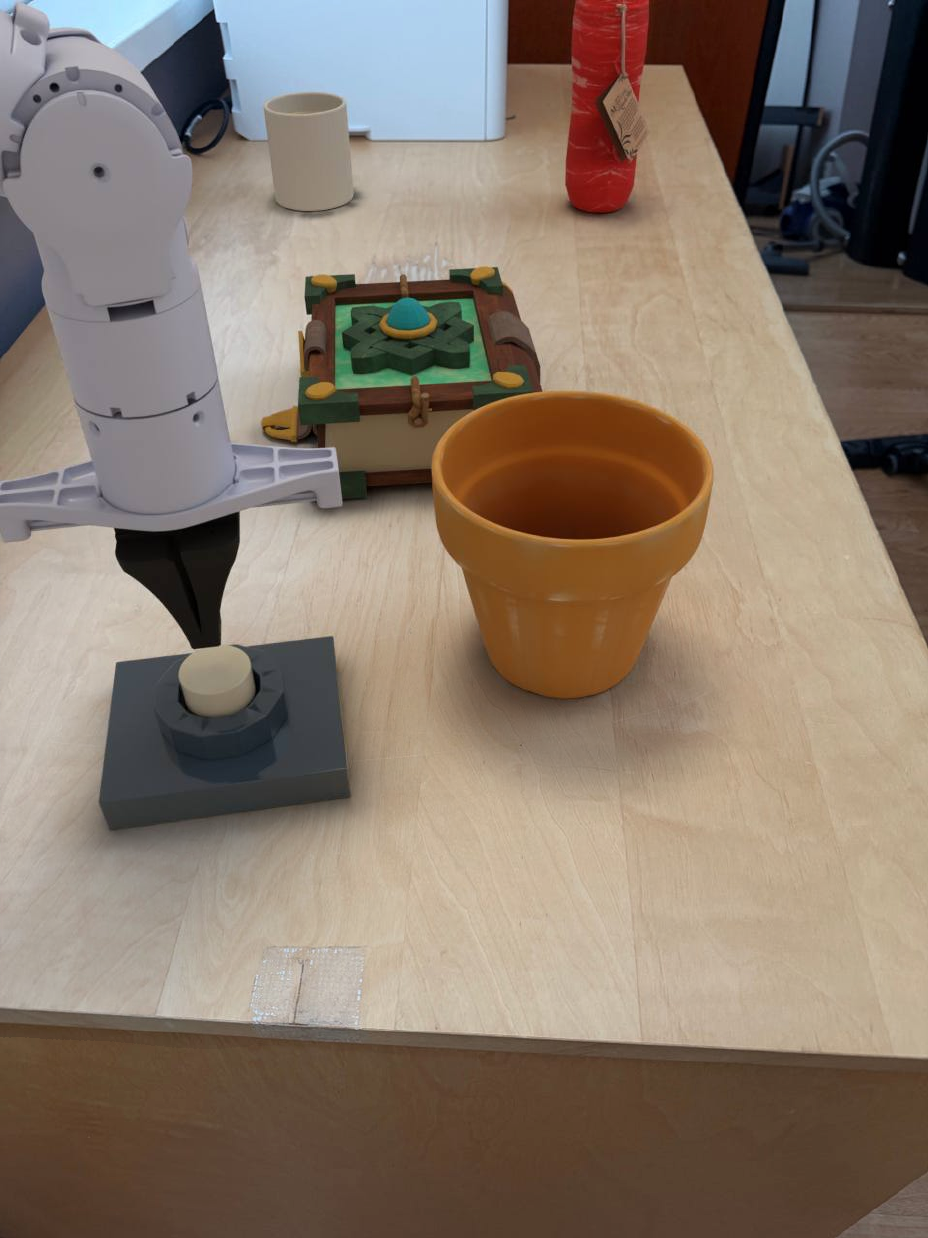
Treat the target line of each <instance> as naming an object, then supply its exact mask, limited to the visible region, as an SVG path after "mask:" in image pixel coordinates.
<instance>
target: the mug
mask: <svg viewBox="0 0 928 1238" xmlns="http://www.w3.org/2000/svg"><path fill="white" fill-rule="evenodd" d="M263 114H264V122H265V130H266V137H267V144H268V152H269V160H270V167H271V173H272V174H271V175H272V182H273V191H274V198H275V201H276V203H277V204H278V205H279V206H281V207H282V208H285V209H289V210H294V211H301V212H318V211H319V212H320V211H327V210H333V209H335V208H339V207H341V206H344V205H346V204H348V203H349V202H351V201H352V200H353V198H354V195H355V192H354V182H353V179H354V178H353V171H352V170H353V168H352V157H351V145H350V132H349V121H348V108H347V101H346V99H345V98H344V97H343V96H341V95H338V94H335V93H331V92H323V91H298V92H289V93H284V94H280V95H277V96H273V97H272V98H270V99H267V100H266V101H265V102H264V103H263Z"/></svg>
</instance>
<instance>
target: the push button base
mask: <svg viewBox="0 0 928 1238" xmlns="http://www.w3.org/2000/svg"><path fill="white" fill-rule="evenodd" d="M228 645H229V646H233V647H237V648H239V649H241V650H242V651H244V652H245V653H246V654H247V655H248V657H249V659H250V662H251V666H252V671H253V676H254V681H255V686H256V690H255V695H254V697H253V699H252V700H251V702H250V703H249V704H248V705H247V706H246V707H245V708H244V709H242V710H240V711H238V712H236V713H235V714H233V715H230V716H222V717H214V718H206V717H202V716H199V715H197V714H195V713H193V712H192V711H191V710H190V709H189V708H188V707H187V705H186V703H185V699H184V695H183V692H182V688H181V684H180V681H179V669H180V667H181V665H182V663H183V662H184V660H185V659H186V658H187V657H188V656H190V655H191V654H192V653H193V652H190V653H180V654H179V653H178V654H171V655H164V656H156V657H147V658H146V657H145V658H140V659H139V658H138V659H130V660H122V661H116V662H115V668H114V676H113V684H112V690H111V691H112V692H111V700H110V701H111V702H110V707H109V714H108V723H107V725H108V726H107V730H106V731H107V733H106V741H105V746H104V747H105V748H104V756H103V762H102V764H103V765H102V772H101V780H100V788H99V789H100V790H99V796H98V804H99V805H98V806H99V807H100V810H101V812H102V815H103V817H104V820H105V823H106V826H107V828H108V830H109V831H114V830H121V829H127V828H128V829H129V828H136V827H141V826H142V827H143V826H151V825H157V824H165V823H172V822H178V821H186V820H192V819H200V818H207V817H214V816H221V815H228V814H235V813H242V812H243V813H244V812H249V811H250V812H251V811H259V810H264V809H272V808H280V807H287V806H292V805H294V806H295V805H301V804H307V803H315V802H316V803H317V802H321V801H329V800H336V799H343V798H350V797H351V796H352V790H351V782H350V781H351V780H350V772H349V771H350V770H349V763H348V762H349V761H348V753H347V744H346V733H345V726H344V725H345V724H344V717H343V707H342V699H341V697H342V696H341V688H340V679H339V671H338V662H337V653H336V647H335V638H334V636H333V635H328V636H321V637H311V638H304V639H295V640H286V641H279V642H273V643H272V642H271V643H263V644H255V645H247V646H246V645H241V644H235V643H234V644H228Z"/></svg>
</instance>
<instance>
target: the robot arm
mask: <svg viewBox="0 0 928 1238" xmlns="http://www.w3.org/2000/svg"><path fill="white" fill-rule="evenodd" d="M14 3H15V4H14V6H13V10H12V14H10V13H8V12H5V11H3V10H2V9H0V197H3V198H7V201H8V202H9V204H10V206H11V208H12V209H13V211H14V213H15V214H16V215H17V217H18V218H19V220H21V222H22V224H24V226H25V227H27V229H28V230H29V231H30V232H31V233H33V236H34V239H35V243H36V246H37V250H38V254H39V257H40V261H41V264H42V267H43V274H42V278H41V291H42V296H43V298H44V302H45V306H46V309H47V312H48V317H49V319H50V323H51V327H52V330H53V333H54V336H55V340H56V343H57V346H58V350H59V353H60V357H61V360H62V364H63V367H64V371H65V374H66V378H67V381H68V384H69V387H70V390H71V394H72V398H73V401H74V405H75V408H76V412H77V415H78V418H79V423H80V425H81V429H82V433H83V437H84V439H85V442H86V445H87V450H88V453H89V456H90V459H88V460H85V461H82V462H77V463H74V464H71V465H67V466H64V467H61V468H56V469H53V470H49V471H46V472H42V473H39V474H34V475H30V476H25V477H19V478H13V479H4V480H0V536H1V539H2V542H3V543H5V544H7V543H18V542H23V541H27V540H30V538H31V537H32V532H39V531H47V530H57V529H58V530H59V529H68V528H75V527H76V528H77V527H85V526H93V527H102V528H103V527H104V528H111V529H113V530H114V539H115V541H116V543H115V548H114V549H115V550H114V556H115V559H116V561H117V563H118V565H119V567H120V569H121V570H122V571H123V573H125V574H127V575H128V576H130V577H131V578H133V579H134V580H136V581H137V582H138V583H139V584H140V585H142V586H143V587H144V588H145V589H147V590H148V591H149V592H150V593H151V594H152V595H153V596H154V597H155V598H156V599H157V600H158V601H159V602H160V603H161V604H162V605H163V607H164V608H165V609H166V610H167V611H168V612H169V614H170V615H171V617H172V618H173V619H174V621H175V623H176V624H177V625H178V627H179V629H181V631H182V633H183V634H184V636H185V638H186V640H187V641H188V643H189V646H190V647H191V649H192V650H200V649H202V648H210V647H218V646H220V645H222V615H221V614H222V613H221V609H222V602H223V597H224V593H225V589H226V585H227V582H228V579H229V576H230V573H231V571H232V569H233V567H234V564H235V562H236V560H237V556H238V552H239V548H240V542H241V515H240V514H241V512H242V511H245V510H248V509H252V508H262V507H271V506H272V507H273V506H283V505H290V504H291V505H292V504H299V503H301V504H302V503H309V502H310V503H311V502H316V504H317V506H318V508H321V509H331V508H332V509H333V508H339V507H340V508H341V507H343V499H342V494H341V486H340V477H339V468H338V461H337V454H336V448H335V447H330V448H317V447H316V448H315V447H314V448H311V447H309V448H302V447H287V446H275V445H266V444H265V445H263V444H253V443H241V442H231V437H230V432H229V426H228V421H227V416H226V409H225V405H224V400H223V394H222V390H221V385H220V379H219V374H218V373H219V372H218V367H217V361H216V356H215V350H214V346H213V341H212V335H211V330H210V323H209V319H208V314H207V308H206V303H205V298H204V293H203V288H202V282H201V275H200V271H199V267H198V265H197V263H196V260H195V259H194V257H193V256H192V255H191V253H190V249H189V245H190V230H189V226H188V225H189V224H188V221H187V218H186V215H185V213H186V211H187V208H188V205H189V202H190V199H191V194H192V189H193V188H192V187H193V163H192V159H191V157H190V156H188V155H187V154H184V150H183V146H182V143H181V140H180V137H179V134H178V132H177V130H176V127H175V126H174V124H173V122H172V120H171V118H170V117H169V115H168V114H167V111H166V110H165V108H164V107H163V105H162V103H161V102H160V100H159V98H158V97H157V95H156V93H155V92H154V90H153V88H152V86H151V85H150V83H149V82H148V80H147V79H146V78H145V76H144V75H143V74H142V72H140V70H139V69H138V68H137V67H136V66H135V65H134V64H133V63H132V62H131V61H129V59H127V58H126V57H125V56H123V55H122V54H120V53H119V52H118V51H116V50H115V49H113V48H112V47H110V46H108V45H106V44H104V43H102V42H101V41H100V40H99V39H98V38H97V37H96V35H94V34H93V33H92V32H91V31H89V30H88V29H85V28H79V27H70V26H68V27H66V26H65V27H64V26H62V27H53V28H50V27H51V23H50V20H49V18H48V15H47V14H46V12H44V11H41V10H39V9H37V8H34V7H33V6H31V5H28V4H26V3H25V2H21V1H19V0H18V1H16V2H14Z"/></svg>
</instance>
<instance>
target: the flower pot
mask: <svg viewBox="0 0 928 1238" xmlns="http://www.w3.org/2000/svg"><path fill="white" fill-rule="evenodd" d="M431 469H432V482H431V483H432V497H433V498H432V499H433V508H434V517H435V525H436V529H437V533H438V537H439V540H440V541H441V543H442V545H443V547H444V549H445V550H446V552H447V554H448V555H449V556H450V558H452V559H453V561H454V562H455V563H456V564H457V565H458V566H459V567H460V568H461V570H462V573H463V578H464V581H465V585H466V589H467V592H468V595H469V598H470V601H471V605H472V608H473V612H474V615H475V618H476V621H477V624H478V627H479V630H480V634H481V637H482V640H483V644H484V646H485V647H484V648H485V649H486V652H487V655H488V658H489V660H490V662H491V664H492V666H493V667H494V668H495V670H496V671H497V672H498V673H499V674H500V675H501V676H502V677H503V678H504V679H505V680H506V681H508V682H509V683H511V684H512V685H514V686H516V687H517V688H520V689H522V690H524V691H527V692H531V693H534V694H538V695H540V696H543V697H547V698H556V699H577V698H584V697H589V696H593V695H597V694H600V693H603V692H605V691H607V690H610V689H611V688H612V687H614V686H616V685H618V684H619V683H620V682H622V681H623V680H624V679H625V678H626V677H627V676H628V675H629V673H631V671H632V670H633V668H634V666H635V664H636V663H637V661H638V658H639V656H640V654H641V651H642V649H643V647H644V644H645V642H646V640H647V637H648V635H649V633H650V631H651V628H652V626H653V624H654V621H655V619H656V616H657V614H658V612H659V609H660V606H661V605H662V602H663V600H664V598H665V595H666V593H667V590H668V587H669V586H670V582H671V580H672V577H674V576H676V575H677V574H678V573H679V572H680V571H681V570H682V569H683V568H685V567H686V566H687V564H689V562H690V561H691V560H692V558H693V557H694V555H695V554H696V552H697V551H698V549H699V546H700V544H701V542H702V539H703V536H704V531H705V528H706V523H707V519H708V515H709V510H710V509H709V508H710V503H711V498H712V492H713V487H714V479H715V478H714V477H715V475H714V474H715V473H714V472H715V471H714V464H713V460H712V457H711V455H710V452H709V450H708V448H707V447H706V444H705V443H704V442H703V441H702V439H701V438H700V437H699V436H698V435H697V434H696V432H694V431H693V430H692V429H691V428H690V427H688V426H687V425H686V424H685V423H683V422H682V421H680V420H679V419H677V418H675V417H674V416H672V415H671V414H669V413H667V412H665V411H663V410H661V409H658V408H656V407H654V406H651V405H649V404H647V403H644V402H641V401H638V400H636V399H631V398H627V397H625V396H621V395H618V394H617V395H616V394H612V393H611V394H610V393H605V392H597V391H590V390H589V391H587V390H547V391H545V390H544V391H543V392H536V393H529V394H523V395H517V396H513V397H509V398H505V399H502V400H499V401H496V402H493V403H490V404H488V405H485V406H483V407H481V408H478V409H476V410H474V411H472V412H471V413H469V414H467V415H466V416H464V417H463V418H461V419H460V420H459V421H457V422H456V423H455V424H454V425H452V426H451V427H450V428H449V429H448V430H447V431H446V432H445V434H444V435H443V436H442V437H441V439H440V440H439V442H438V443H437V446H436V448H435V450H434V453H433V457H432V465H431Z"/></svg>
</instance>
